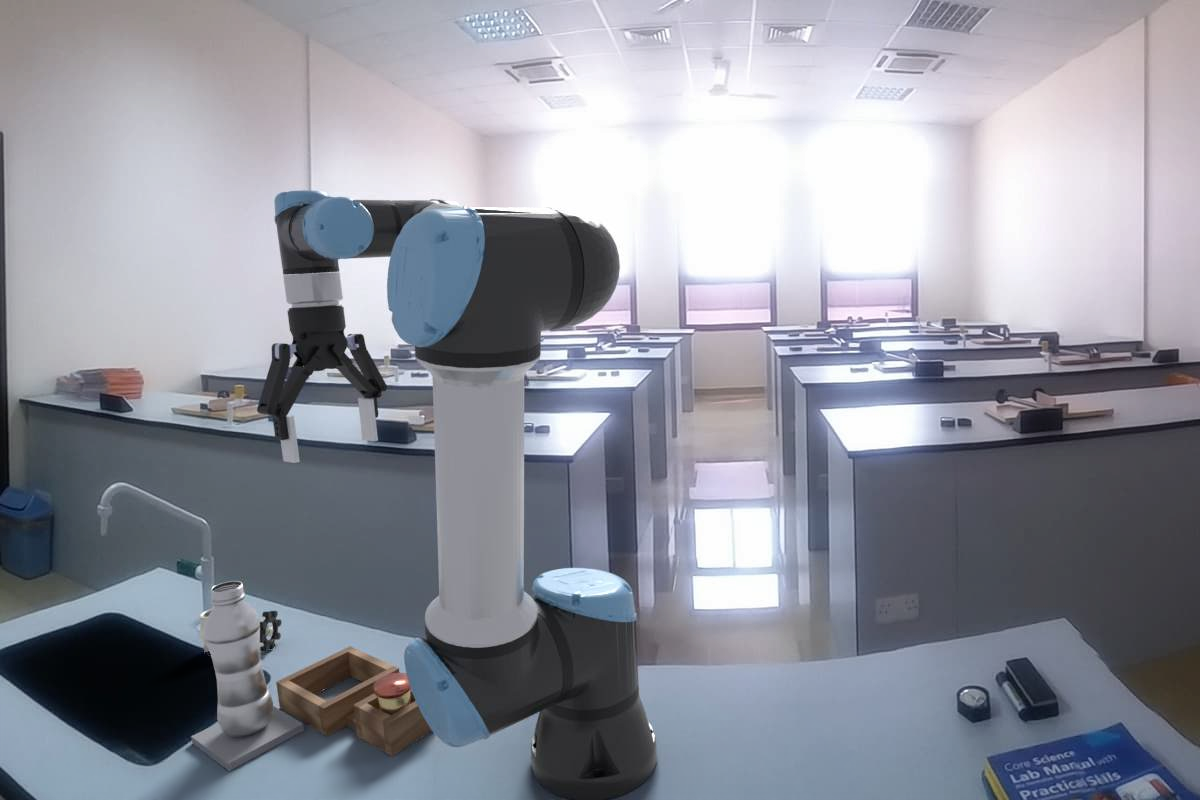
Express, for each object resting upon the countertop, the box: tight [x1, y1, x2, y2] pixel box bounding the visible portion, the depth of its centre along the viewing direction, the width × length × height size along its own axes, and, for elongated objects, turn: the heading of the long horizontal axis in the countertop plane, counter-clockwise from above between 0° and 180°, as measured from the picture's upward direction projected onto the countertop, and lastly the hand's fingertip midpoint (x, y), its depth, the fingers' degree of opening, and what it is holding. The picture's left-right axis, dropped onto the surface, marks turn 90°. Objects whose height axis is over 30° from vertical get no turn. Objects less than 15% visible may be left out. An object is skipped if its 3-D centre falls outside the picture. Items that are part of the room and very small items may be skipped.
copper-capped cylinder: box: [374, 672, 411, 715], centre depth 100 cm, size 5×5×7 cm
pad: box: [190, 705, 305, 772], centre depth 101 cm, size 10×10×1 cm
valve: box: [198, 608, 282, 653], centre depth 125 cm, size 7×7×12 cm
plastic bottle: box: [203, 580, 274, 737], centre depth 100 cm, size 6×7×20 cm
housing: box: [275, 646, 433, 757], centre depth 105 cm, size 23×12×4 cm, turn 52°
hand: (332, 450), depth 112 cm, fingers open, 13 cm apart
